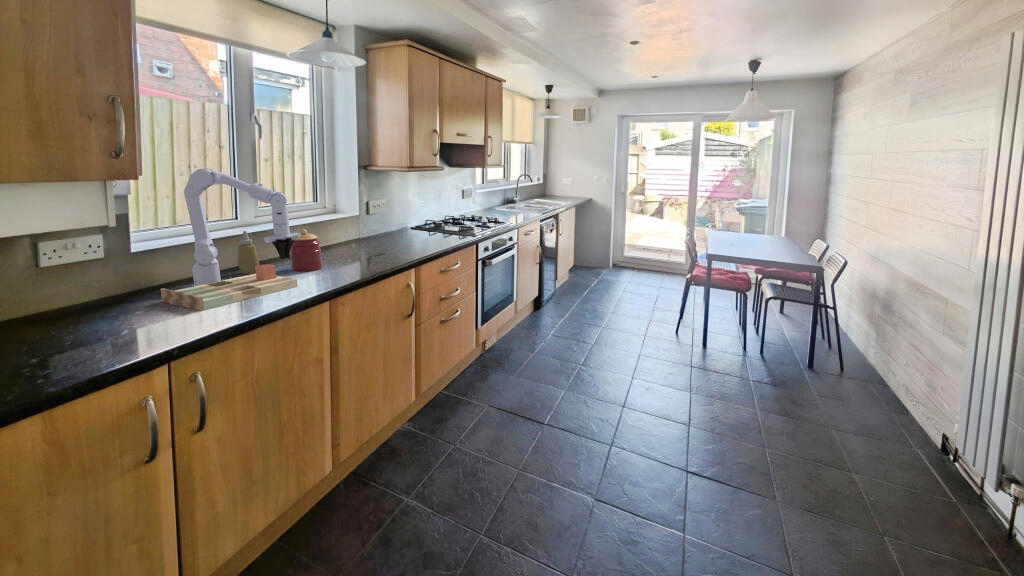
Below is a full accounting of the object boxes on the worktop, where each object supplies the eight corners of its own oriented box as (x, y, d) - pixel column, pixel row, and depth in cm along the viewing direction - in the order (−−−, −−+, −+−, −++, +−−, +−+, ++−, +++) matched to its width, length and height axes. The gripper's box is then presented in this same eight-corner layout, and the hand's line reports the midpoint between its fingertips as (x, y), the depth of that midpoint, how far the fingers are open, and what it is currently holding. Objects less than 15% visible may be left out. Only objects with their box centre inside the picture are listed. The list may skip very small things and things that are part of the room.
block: (256, 278, 190) (255, 266, 189) (268, 276, 195) (267, 263, 193) (264, 280, 188) (262, 267, 187) (276, 278, 192) (275, 265, 191)
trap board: (162, 301, 170) (160, 289, 169) (260, 279, 202) (258, 269, 200) (201, 311, 160) (199, 297, 159) (297, 286, 192) (296, 275, 191)
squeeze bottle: (254, 270, 219) (249, 229, 215) (264, 272, 214) (259, 231, 210) (235, 273, 213) (230, 231, 208) (245, 276, 208) (239, 233, 204)
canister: (293, 266, 227) (289, 228, 223) (323, 265, 230) (320, 227, 226) (289, 272, 215) (285, 232, 210) (321, 271, 218) (317, 231, 214)
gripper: (271, 226, 186) (275, 262, 190) (303, 222, 199) (306, 256, 202) (259, 225, 190) (263, 260, 193) (291, 221, 202) (294, 254, 205)
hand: (284, 258), depth 198 cm, fingers closed
